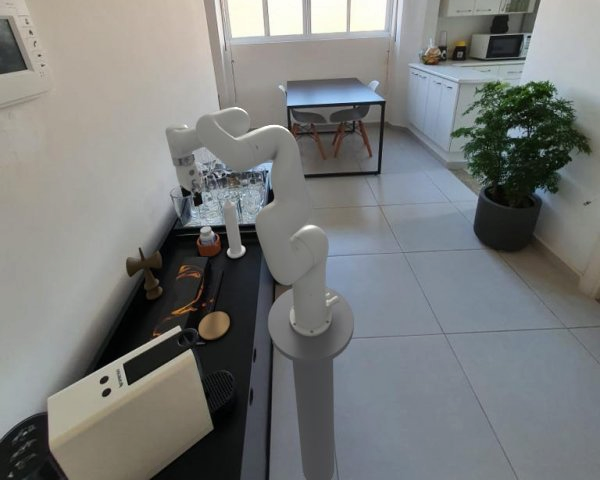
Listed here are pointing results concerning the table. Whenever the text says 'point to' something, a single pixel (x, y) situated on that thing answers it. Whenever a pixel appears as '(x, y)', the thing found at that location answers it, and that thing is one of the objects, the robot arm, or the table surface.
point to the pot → (209, 247)
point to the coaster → (214, 325)
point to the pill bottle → (207, 236)
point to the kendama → (146, 272)
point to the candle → (232, 230)
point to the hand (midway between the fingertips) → (192, 200)
